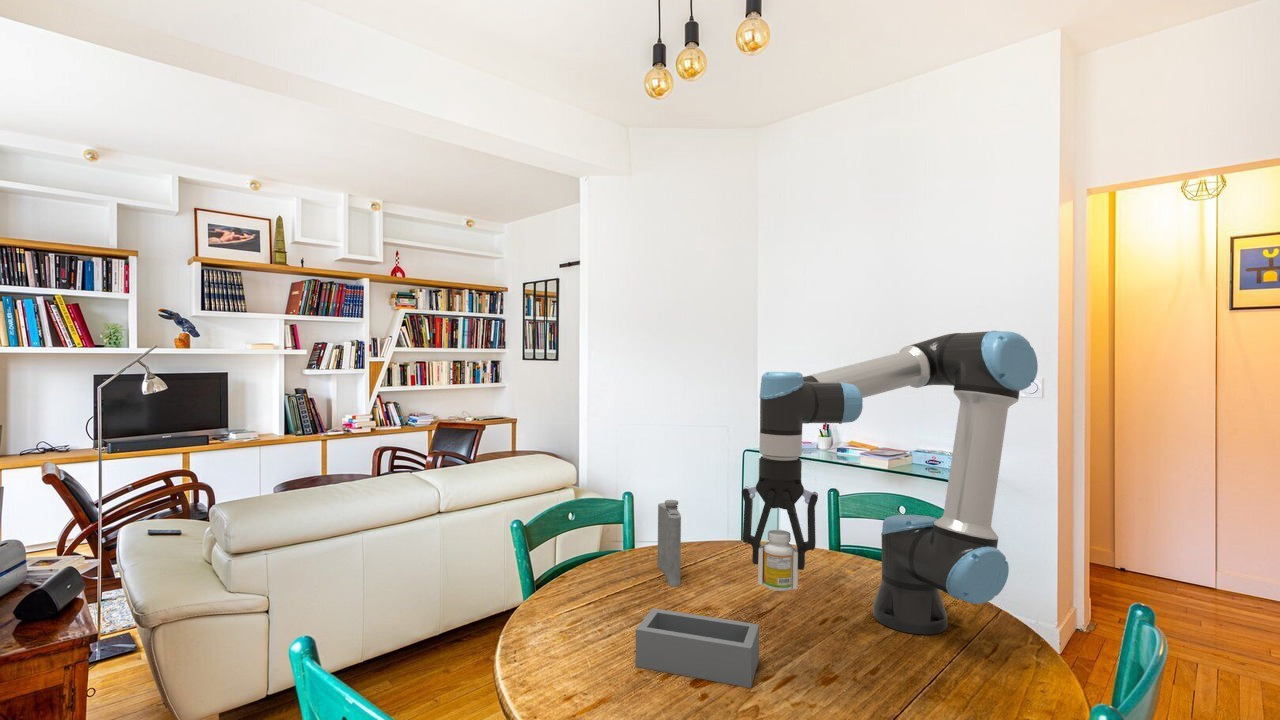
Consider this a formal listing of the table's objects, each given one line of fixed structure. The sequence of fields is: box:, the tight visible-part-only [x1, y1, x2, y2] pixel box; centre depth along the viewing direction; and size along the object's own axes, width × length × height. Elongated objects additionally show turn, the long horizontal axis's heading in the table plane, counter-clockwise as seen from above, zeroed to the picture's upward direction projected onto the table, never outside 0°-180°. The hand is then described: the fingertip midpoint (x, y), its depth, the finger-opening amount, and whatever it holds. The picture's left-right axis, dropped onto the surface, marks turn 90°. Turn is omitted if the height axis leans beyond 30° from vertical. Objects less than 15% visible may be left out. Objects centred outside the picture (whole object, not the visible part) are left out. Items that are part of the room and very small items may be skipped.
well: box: [634, 607, 760, 689], centre depth 114 cm, size 22×10×7 cm, turn 71°
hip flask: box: [657, 499, 682, 588], centre depth 161 cm, size 16×4×20 cm, turn 10°
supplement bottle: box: [762, 529, 795, 592], centre depth 109 cm, size 5×5×10 cm
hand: (778, 584), depth 109 cm, fingers closed on supplement bottle, 5 cm apart
